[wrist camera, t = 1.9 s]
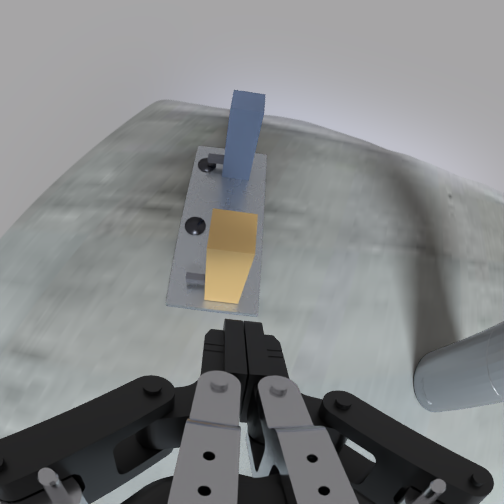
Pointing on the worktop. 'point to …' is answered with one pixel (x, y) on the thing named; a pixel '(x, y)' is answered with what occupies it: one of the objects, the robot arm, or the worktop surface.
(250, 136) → the fixed leg
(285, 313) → the worktop surface
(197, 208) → the bolt plate
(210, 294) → the block
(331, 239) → the worktop surface
